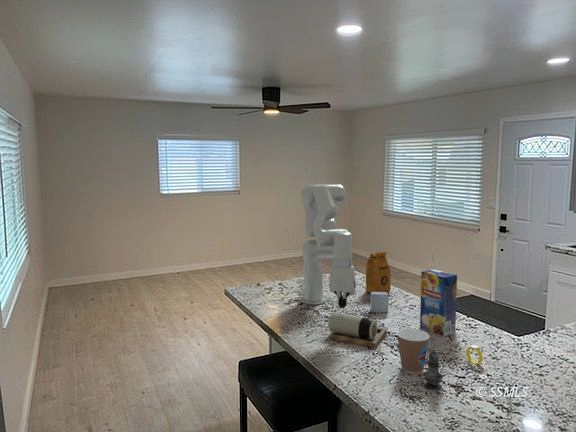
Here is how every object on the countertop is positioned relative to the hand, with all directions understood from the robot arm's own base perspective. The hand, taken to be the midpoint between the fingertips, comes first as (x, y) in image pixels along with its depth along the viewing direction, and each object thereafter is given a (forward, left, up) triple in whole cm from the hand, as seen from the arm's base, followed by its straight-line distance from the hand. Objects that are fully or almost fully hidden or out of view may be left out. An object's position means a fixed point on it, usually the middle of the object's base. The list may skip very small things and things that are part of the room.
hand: (342, 307), depth 172 cm
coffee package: (-3, +64, -12) cm, 65 cm away
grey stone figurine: (+40, -27, -11) cm, 49 cm away
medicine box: (+6, +34, -12) cm, 36 cm away
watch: (+50, -4, -12) cm, 51 cm away
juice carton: (+34, +22, -11) cm, 42 cm away
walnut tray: (+6, 0, -11) cm, 13 cm away
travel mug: (-5, -1, -7) cm, 8 cm away
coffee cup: (+32, -18, -11) cm, 38 cm away
